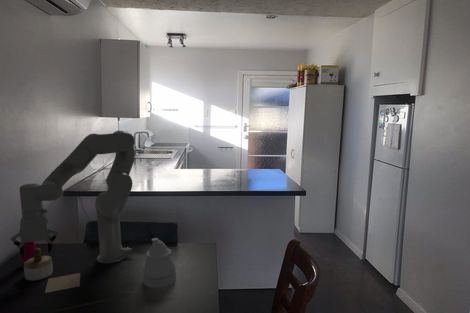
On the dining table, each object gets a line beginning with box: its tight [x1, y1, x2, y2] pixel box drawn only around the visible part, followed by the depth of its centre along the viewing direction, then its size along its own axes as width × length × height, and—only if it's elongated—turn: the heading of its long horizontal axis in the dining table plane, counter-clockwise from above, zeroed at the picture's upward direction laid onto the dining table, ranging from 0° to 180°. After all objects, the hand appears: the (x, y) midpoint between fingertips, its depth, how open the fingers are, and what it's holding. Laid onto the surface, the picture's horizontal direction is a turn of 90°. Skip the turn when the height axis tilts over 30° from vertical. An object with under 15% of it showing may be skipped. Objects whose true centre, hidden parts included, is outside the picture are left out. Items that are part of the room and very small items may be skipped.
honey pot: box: [142, 237, 177, 289], centre depth 139 cm, size 13×13×18 cm
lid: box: [23, 247, 53, 269], centre depth 145 cm, size 10×10×6 cm
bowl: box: [23, 261, 54, 281], centre depth 145 cm, size 10×10×6 cm
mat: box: [44, 272, 81, 294], centre depth 139 cm, size 12×12×1 cm
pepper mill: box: [18, 230, 37, 268], centre depth 155 cm, size 7×7×20 cm
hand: (37, 253), depth 144 cm, fingers open, 9 cm apart
